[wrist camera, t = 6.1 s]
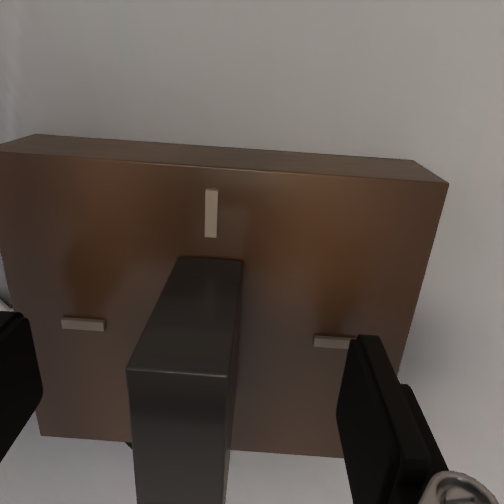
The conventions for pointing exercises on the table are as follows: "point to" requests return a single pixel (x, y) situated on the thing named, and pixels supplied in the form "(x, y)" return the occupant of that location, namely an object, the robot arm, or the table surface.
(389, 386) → the robot arm
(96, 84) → the table surface
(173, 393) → the dial knob
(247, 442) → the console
